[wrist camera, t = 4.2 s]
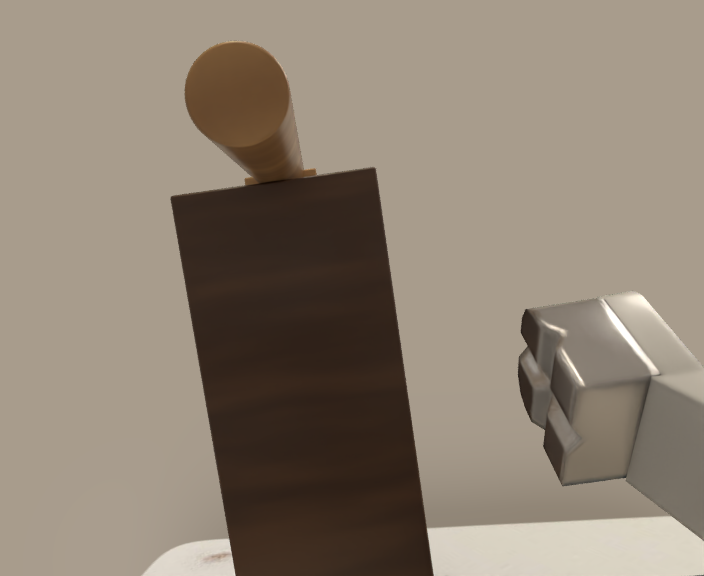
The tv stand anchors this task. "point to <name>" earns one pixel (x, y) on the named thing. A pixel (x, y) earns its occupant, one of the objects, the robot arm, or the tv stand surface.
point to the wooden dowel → (246, 110)
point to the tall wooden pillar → (304, 376)
